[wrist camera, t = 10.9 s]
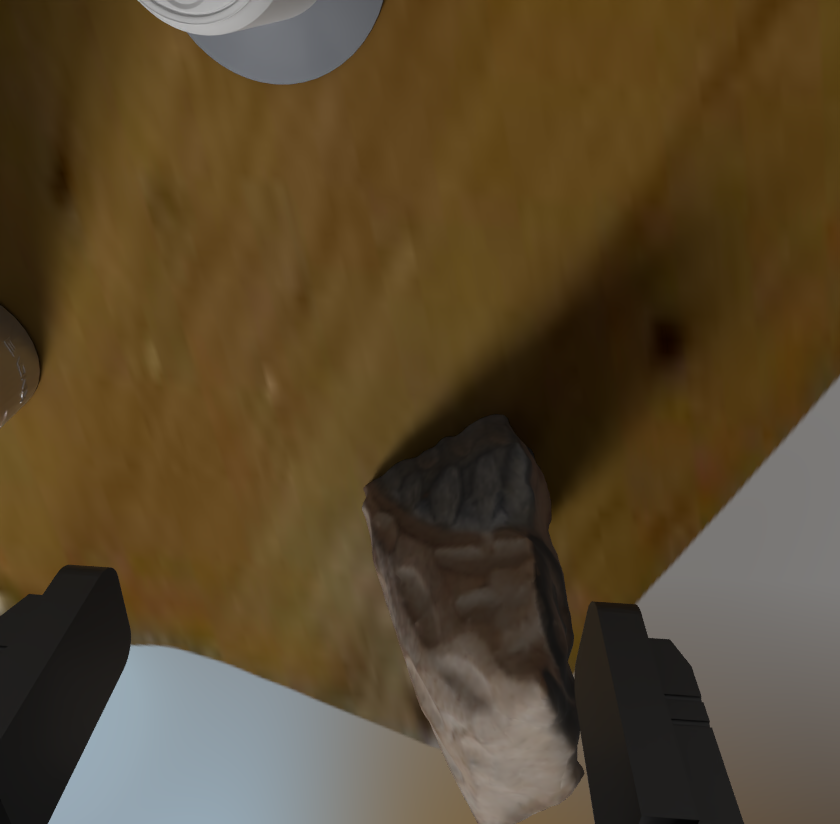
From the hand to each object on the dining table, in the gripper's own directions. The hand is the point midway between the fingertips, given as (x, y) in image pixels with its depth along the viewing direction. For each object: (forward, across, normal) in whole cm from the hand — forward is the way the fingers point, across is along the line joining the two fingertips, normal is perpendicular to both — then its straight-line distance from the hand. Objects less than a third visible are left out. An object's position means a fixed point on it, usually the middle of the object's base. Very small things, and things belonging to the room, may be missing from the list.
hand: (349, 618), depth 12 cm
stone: (+32, -3, +21) cm, 38 cm away
